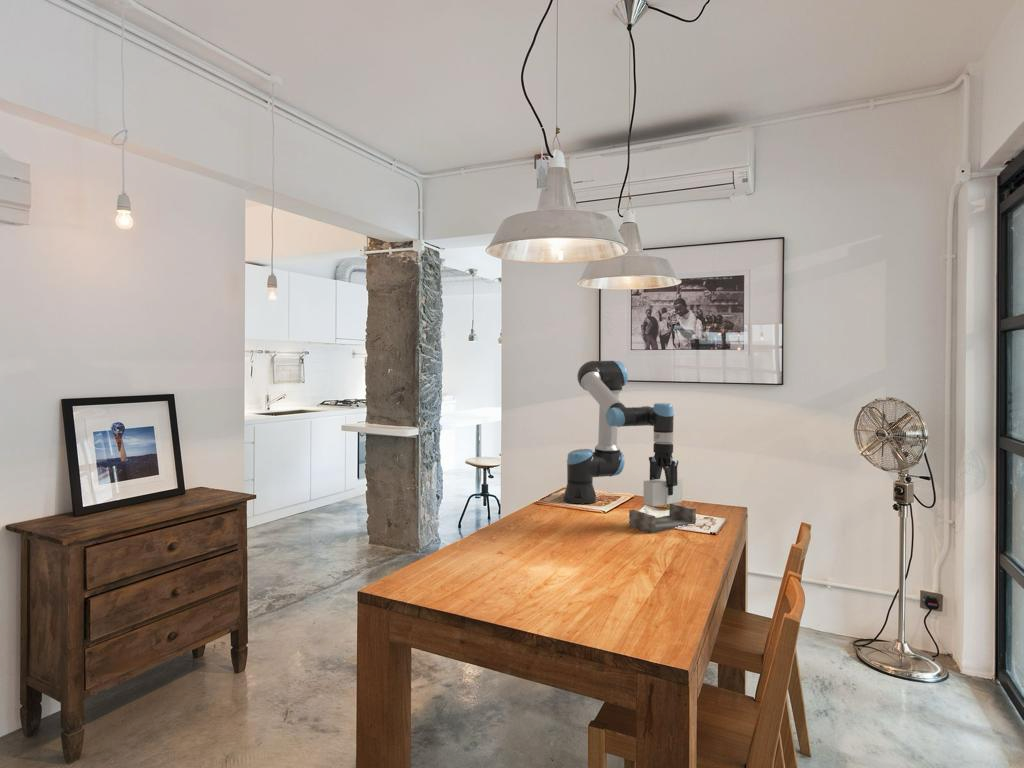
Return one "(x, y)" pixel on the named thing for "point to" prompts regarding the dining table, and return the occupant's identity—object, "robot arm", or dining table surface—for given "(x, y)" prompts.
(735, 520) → the dining table surface
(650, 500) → the light grey block
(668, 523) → the cradle rack
